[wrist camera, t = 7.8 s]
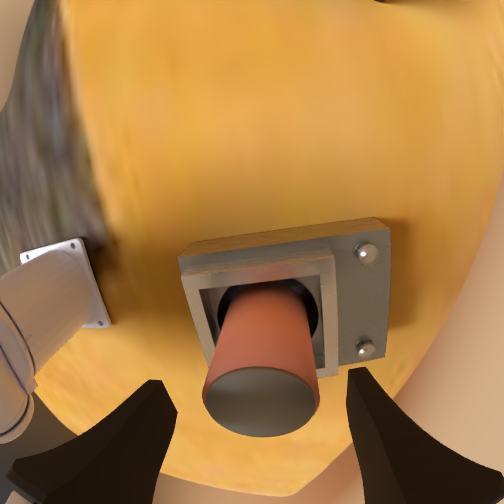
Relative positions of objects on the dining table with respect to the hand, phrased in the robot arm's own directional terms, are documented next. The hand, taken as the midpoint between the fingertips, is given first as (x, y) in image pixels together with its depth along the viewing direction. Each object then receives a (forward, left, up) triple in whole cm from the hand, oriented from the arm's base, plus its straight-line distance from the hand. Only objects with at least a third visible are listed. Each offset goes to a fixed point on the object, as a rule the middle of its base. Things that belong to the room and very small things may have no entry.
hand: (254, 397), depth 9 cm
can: (0, 0, -7) cm, 7 cm away
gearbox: (+2, -1, -10) cm, 10 cm away
